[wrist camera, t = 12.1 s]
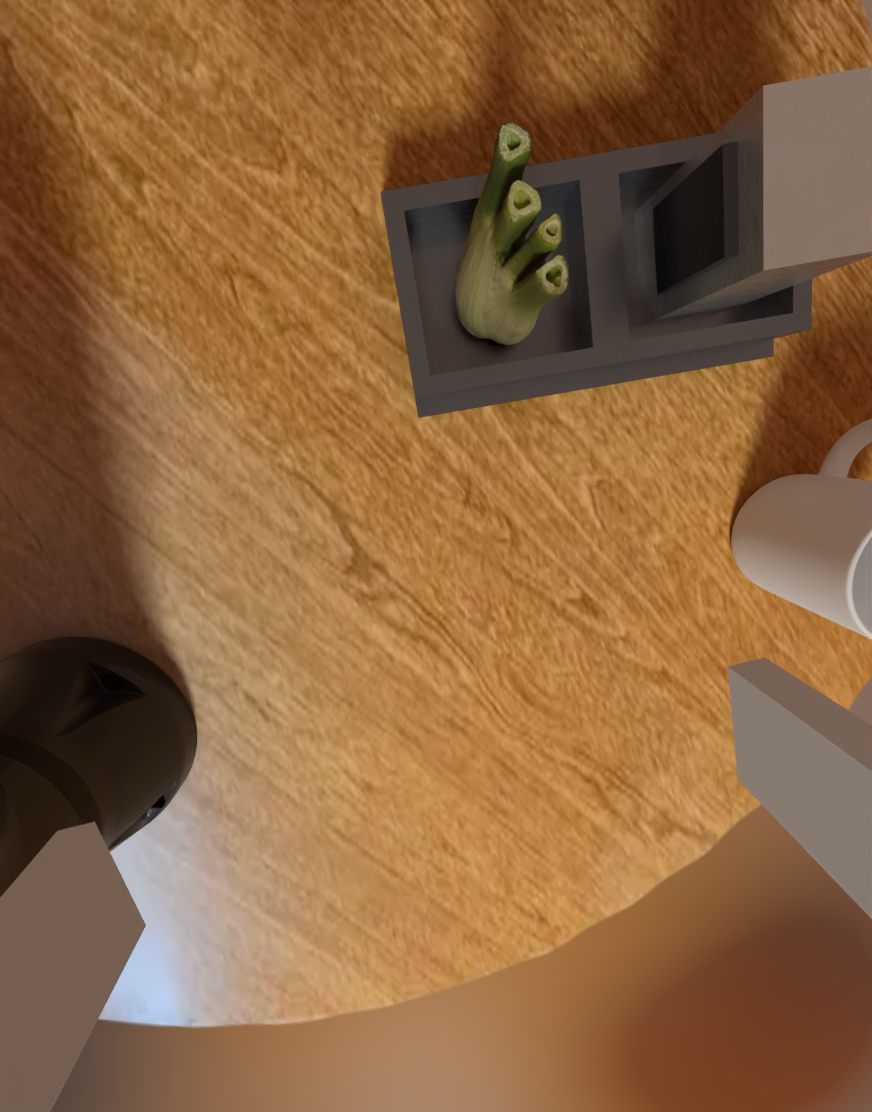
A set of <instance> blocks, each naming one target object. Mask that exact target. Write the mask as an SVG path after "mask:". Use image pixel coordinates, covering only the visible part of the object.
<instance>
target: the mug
mask: <svg viewBox="0 0 872 1112" xmlns="http://www.w3.org/2000/svg"><path fill="white" fill-rule="evenodd" d="M871 442H872V419H869V420H867V421H864V422H862V423H860V424H858V425H856V426H855V427H853V428H851V429H850V430H848V431H847V432H846V433H845V434H843V435H842V436H841V437H840V438H839V439H838V440H837V441H836V443H835V444H834V445H833V447H832V448H831V449H830V451H829V452H828V454H827V456H826V458H825V460H824V462H823V464H822V466H821V468H820V471H819V473H818V474H817V475H815V474H795V475H788V476H784V477H781V478H778V479H775V480H773V481H771V482H769V483H767V484H766V485H764V486H762V487H761V488H760V489H758V490H757V491H756V492H755V493H754V494H752V495H751V496H750V497H749V499H748V500H747V501H746V502H745V503H744V505H743V506H742V508H741V509H740V511H739V513H738V515H737V517H736V519H735V522H734V525H733V529H732V535H731V547H732V553H733V557H734V560H735V562H736V564H737V566H738V568H739V569H740V571H741V572H742V573H743V574H744V575H745V576H746V577H747V578H748V579H749V580H751V581H752V582H753V583H755V584H756V585H758V586H760V587H761V588H763V589H765V590H767V591H769V592H771V593H773V594H775V595H778V596H780V597H782V598H784V599H786V600H788V601H790V602H793V603H795V604H797V605H799V606H801V607H803V608H805V609H808V610H810V611H812V612H814V613H816V614H818V615H820V616H823V617H825V618H827V619H829V620H831V621H833V622H835V623H838V624H840V625H842V626H844V627H846V628H848V629H850V630H853V631H855V632H857V633H859V634H861V635H863V636H865V637H868V638H870V639H872V481H869V480H861V479H853V478H847V475H848V472H849V469H850V466H851V464H852V462H853V460H854V459H855V457H856V455H857V454H858V453H859V452H860V451H861V450H862V449H863V448H864V447H865V446H866V445H868V444H869V443H871Z"/></svg>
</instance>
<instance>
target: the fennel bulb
mask: <svg viewBox="0 0 872 1112" xmlns="http://www.w3.org/2000/svg"><path fill="white" fill-rule="evenodd" d="M530 144H531V138H530V136H529V134H528V132H527V131H526V130H524V129H522V127H521V126H520V125H517V124H515V123H513V122H510V123H505V124H503V125H501V127H500V130H499V132H498V137H497V139H496V142H495V146H494V156H493V160H492V164H491V168H490V172H489V174H488V177H487V180H486V182H485V184H484V187H483V190H482V193H481V195H480V198H479V201H478V204H477V206H476V209H475V211H474V214H473V219H472V223H471V227H470V231H469V235H468V239H467V242H466V246H465V250H464V254H463V257H462V260H461V262H460V265H459V268H458V271H457V274H456V279H455V298H456V299H455V301H456V309H457V313H458V317H459V319H460V321H461V323H462V325H463V326H464V327H465V329H466V330H467V331H468V332H469V333H470V334H471V335H473V336H475V337H477V338H480V339H491V340H493V341H495V342H496V343H499V344H505V345H512V344H516V343H518V342H520V341H522V340H523V339H525V338H526V337H527V336H528V335H529V334H530V332H531V331H532V329H533V328H534V326H535V323H536V320H537V317H538V314H539V311H540V309H541V308H542V307H543V306H545V305H546V304H548V303H549V302H550V301H551V300H554V299H555V298H558V297H560V296H561V295H562V294H563V293H564V292H565V291H566V289H567V286H568V280H569V272H568V268H569V266H568V264H567V260H566V259H565V257H564V256H563V255H562V254H560V255H557V256H555V257H554V258H553V259H551V260H550V261H548V262H546V258H547V257H548V255H549V254H551V252H552V251H554V250H555V249H556V248H557V247H558V245H559V243H560V242H561V240H562V236H563V224H562V220H561V217H560V216H559V215H558V214H556V213H554V214H553V215H551V216H550V217H549V218H548V219H546V220H545V221H544V222H542V223H541V224H540V225H539V226H538V227H537V228H536V229H535V231H533V232H532V233H531V234H530V236H529V235H528V234H527V233H528V232H529V230H530V228H531V227H532V226H533V224H534V222H535V219H536V217H537V216H538V214H539V212H540V210H541V200H540V196H539V193H538V192H537V191H536V190H535V189H534V188H533V187H531V186H530V185H528V184H527V183H525V182H523V181H521V180H522V177H523V173H524V169H525V167H526V164H527V160H528V158H529V156H530V153H531V146H530Z"/></svg>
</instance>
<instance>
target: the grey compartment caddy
mask: <svg viewBox="0 0 872 1112" xmlns="http://www.w3.org/2000/svg"><path fill="white" fill-rule="evenodd" d="M488 174H489V173H485V174H479V175H473V176H468V177H462V178H456V179H451V180H445V181H439V182H433V183H428V184H422V185H416V186H411V187H405V188H399V189H394V190H388V191H382V192H381V198H382V204H383V211H384V216H385V222H386V228H387V234H388V240H389V246H390V252H391V258H392V264H393V270H394V276H395V281H396V287H397V293H398V299H399V305H400V311H401V317H402V323H403V329H404V335H405V341H406V347H407V352H408V358H409V364H410V370H411V376H412V382H413V388H414V394H415V400H416V406H417V412H418V418H420V417H426V416H431V415H437V414H443V413H449V412H455V411H460V410H466V409H472V408H478V407H484V406H490V405H495V404H501V403H507V402H513V401H519V400H524V399H530V398H536V397H542V396H548V395H553V394H559V393H565V392H571V391H577V390H582V389H588V388H594V387H600V386H606V385H611V384H617V383H623V382H629V381H635V380H640V379H646V378H652V377H658V376H664V375H669V374H675V373H681V372H687V371H693V370H699V369H704V368H710V367H716V366H722V365H728V364H733V363H739V362H745V361H751V360H757V359H762V358H767V357H772V356H773V343H774V339H775V338H779V337H783V336H787V335H791V334H795V333H799V332H803V331H807V330H811V304H812V278H814V277H817V276H820V275H822V274H825V273H828V272H830V271H833V270H836V269H838V268H841V267H844V266H846V265H849V264H852V263H854V262H857V261H859V260H862V259H865V258H867V257H870V256H872V67H866V68H861V69H855V70H849V71H843V72H838V73H832V74H826V75H821V76H815V77H809V78H804V79H798V80H792V81H787V82H781V83H775V84H770V85H764V86H762V87H761V88H760V89H759V90H758V91H757V92H756V93H755V94H754V95H753V96H752V97H751V98H750V99H749V100H748V101H747V102H746V103H745V104H744V105H743V106H742V107H741V108H740V109H739V110H738V111H737V112H736V113H735V114H734V115H733V116H732V117H731V118H730V119H729V120H728V121H727V122H726V123H725V124H724V125H723V126H722V127H721V128H720V129H719V130H718V131H717V132H716V133H713V134H707V135H701V136H696V137H690V138H684V139H679V140H673V141H667V142H661V143H656V144H650V145H644V146H639V147H633V148H627V149H622V150H616V151H610V152H604V153H599V154H593V155H587V156H582V157H576V158H570V159H565V160H559V161H553V162H547V163H542V164H536V165H530V166H526V167H525V169H524V173H523V177H522V180H521V181H523V182H525V183H527V184H528V185H530V186H531V187H533V188H534V189H535V190H536V191H537V192H538V193H539V196H540V200H541V210H540V212H539V214H538V216H537V217H536V219H535V222H534V224H533V226H532V227H531V228H530V230H529V232H528V233H527V234H528V235H529V236H530V234H531V233H532V232H533V231H535V229H536V228H537V227H538V226H539V225H540V224H541V223H542V222H544V221H545V220H546V219H548V218H549V217H550V216H551V215H553V214H554V213H556V214H558V215H559V216H560V217H561V220H562V224H563V236H562V240H561V242H560V243H559V245H558V247H557V248H556V249H555V250H554V251H552V252H551V254H549V255H548V257H547V258H546V262H548V261H550V260H551V259H553V258H554V257H555V256H557V255H560V254H562V255H563V256H564V257H565V259H566V260H567V264H568V266H569V268H568V272H569V280H568V286H567V289H566V291H565V292H564V293H563V294H562V295H561V296H560V297H558V298H555V299H554V300H551V301H550V302H549V303H548V304H546V305H545V306H543V307H542V308H541V309H540V311H539V314H538V317H537V320H536V323H535V326H534V328H533V329H532V331H531V332H530V334H529V335H528V336H527V337H526V338H525V339H523V340H522V341H520V342H518V343H516V344H512V345H505V344H499V343H496V342H495V341H493V340H491V339H480V338H477V337H475V336H473V335H471V334H470V333H469V332H468V331H467V330H466V329H465V327H464V326H463V325H462V323H461V321H460V319H459V317H458V313H457V309H456V301H455V299H456V298H455V279H456V274H457V271H458V268H459V265H460V262H461V260H462V257H463V254H464V250H465V246H466V242H467V239H468V235H469V231H470V227H471V223H472V219H473V214H474V211H475V209H476V206H477V204H478V201H479V198H480V195H481V193H482V190H483V187H484V184H485V182H486V180H487V177H488Z"/></svg>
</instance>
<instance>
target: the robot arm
mask: <svg viewBox="0 0 872 1112" xmlns="http://www.w3.org/2000/svg"><path fill="white" fill-rule="evenodd" d="M728 674H729V685H730V696H731V708H732V719H733V730H734V742H735V753H736V764H737V776H738V780H739V781H740V782H741V783H742V784H743V785H744V786H745V787H746V788H747V789H748V790H749V791H750V792H751V793H752V795H753V796H754V797H755V798H756V799H757V800H758V801H759V802H760V803H761V804H762V805H763V806H764V807H765V808H766V809H767V810H768V811H769V812H770V813H771V814H772V815H773V816H774V817H775V818H776V819H777V821H778V822H779V823H780V824H781V825H782V826H784V828H785V829H786V830H787V831H788V832H789V833H790V834H791V835H792V836H793V837H794V838H795V839H796V840H797V841H798V842H799V843H800V844H801V846H803V848H804V849H805V850H806V851H807V852H808V853H809V854H810V855H811V856H812V857H813V858H814V859H815V860H816V861H817V862H818V863H819V864H820V865H821V866H822V867H823V869H824V870H825V871H826V872H827V873H828V874H829V875H830V876H831V877H832V878H833V879H834V880H835V881H836V882H837V883H838V884H839V885H840V886H841V887H842V888H843V889H844V890H845V891H846V892H847V893H848V895H850V897H851V898H852V899H853V900H854V901H855V902H856V903H857V904H858V905H859V906H860V907H861V908H862V909H863V910H864V911H865V912H866V913H867V914H868V915H869V916H870V917H871V919H872V725H870V724H869V723H867V722H865V721H864V720H862V719H861V718H859V717H858V716H856V715H855V714H853V713H851V712H850V711H848V710H847V709H845V708H843V707H842V706H840V705H839V704H837V703H836V702H834V701H832V700H831V699H829V698H828V697H826V696H824V695H823V694H821V693H820V692H818V691H817V690H815V689H813V688H812V687H810V686H809V685H807V684H805V683H804V682H802V681H801V680H799V679H798V678H796V677H794V676H793V675H791V674H790V673H788V672H786V671H785V670H783V669H782V668H780V667H779V666H777V665H775V664H774V663H772V662H771V661H769V660H767V659H766V658H761V659H757V660H753V661H748V662H744V663H740V664H736V665H732V666H728ZM195 751H196V731H195V725H194V721H193V717H192V714H191V712H190V709H189V707H188V705H187V702H186V701H185V699H184V697H183V695H182V694H181V692H180V691H179V689H178V688H177V687H176V685H175V684H174V683H173V682H172V681H171V679H170V678H169V677H168V676H167V675H166V674H165V673H164V672H163V671H161V670H160V669H159V668H158V667H157V666H156V665H154V664H153V663H152V662H150V661H149V660H147V659H146V658H144V657H143V656H141V655H139V654H137V653H135V652H133V651H131V650H129V649H127V648H125V647H122V646H120V645H117V644H114V643H111V642H107V641H103V640H98V639H92V638H82V637H66V638H57V639H51V640H46V641H43V642H39V643H36V644H34V645H31V646H29V647H27V648H25V649H23V650H21V651H19V652H18V653H16V654H14V655H12V656H11V657H9V658H7V659H5V660H4V661H2V662H0V1112H50V1111H51V1109H52V1107H53V1105H54V1103H55V1101H56V1100H57V1098H58V1096H59V1094H60V1092H61V1090H62V1088H63V1086H64V1084H65V1082H66V1080H67V1078H68V1076H69V1074H70V1072H71V1070H72V1068H73V1066H74V1064H75V1062H76V1060H77V1058H78V1057H79V1055H80V1053H81V1051H82V1049H83V1047H84V1045H85V1043H86V1041H87V1039H88V1037H89V1035H90V1033H91V1031H92V1029H93V1027H94V1025H95V1024H96V1021H97V1020H98V1018H99V1016H100V1014H101V1012H102V1010H103V1008H104V1006H105V1004H106V1002H107V1000H108V998H109V996H110V994H111V992H112V990H113V988H114V986H115V985H116V983H117V981H118V979H119V977H120V975H121V973H122V971H123V969H124V967H125V965H126V963H127V961H128V959H129V957H130V955H131V953H132V951H133V949H134V948H135V946H136V944H137V942H138V940H139V938H140V936H141V934H142V932H143V930H144V928H145V926H146V925H145V923H144V921H143V919H142V917H141V915H140V912H139V910H138V908H137V906H136V904H135V902H134V900H133V898H132V896H131V894H130V892H129V890H128V888H127V886H126V884H125V882H124V880H123V878H122V876H121V874H120V872H119V870H118V868H117V866H116V864H115V862H114V860H113V858H112V856H111V854H110V852H111V851H112V850H113V849H115V848H116V847H117V846H119V845H120V844H121V843H123V842H124V841H125V840H127V839H128V838H129V837H131V836H132V835H133V834H135V833H136V832H137V831H139V830H140V829H142V828H143V827H144V826H145V825H147V824H148V823H150V822H151V821H152V820H153V819H154V818H156V817H157V816H158V815H159V814H160V813H161V812H162V811H163V810H164V809H165V808H166V807H167V805H168V804H169V803H170V802H171V800H172V799H173V797H174V796H175V794H176V793H177V791H178V790H179V788H180V787H181V785H182V784H183V782H184V781H185V779H186V778H187V776H188V774H189V772H190V770H191V767H192V764H193V761H194V757H195Z"/></svg>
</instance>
